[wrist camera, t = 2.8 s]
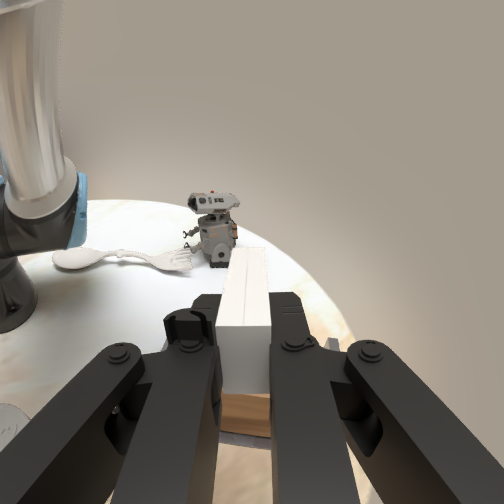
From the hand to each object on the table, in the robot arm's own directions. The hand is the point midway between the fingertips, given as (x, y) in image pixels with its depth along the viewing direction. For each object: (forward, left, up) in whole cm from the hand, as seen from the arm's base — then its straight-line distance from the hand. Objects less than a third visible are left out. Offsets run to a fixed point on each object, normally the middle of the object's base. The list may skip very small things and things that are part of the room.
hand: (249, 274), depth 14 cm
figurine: (-43, +10, -25) cm, 51 cm away
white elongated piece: (-43, -9, -25) cm, 51 cm away
